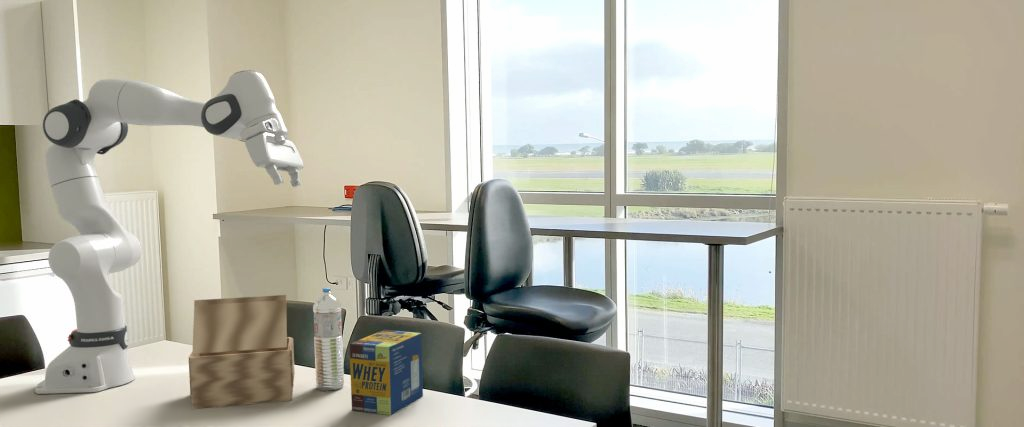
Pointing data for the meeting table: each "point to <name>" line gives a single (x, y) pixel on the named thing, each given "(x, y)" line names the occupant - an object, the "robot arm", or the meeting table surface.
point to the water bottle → (328, 342)
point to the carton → (242, 377)
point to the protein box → (386, 371)
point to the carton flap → (239, 324)
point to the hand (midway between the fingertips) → (288, 185)
